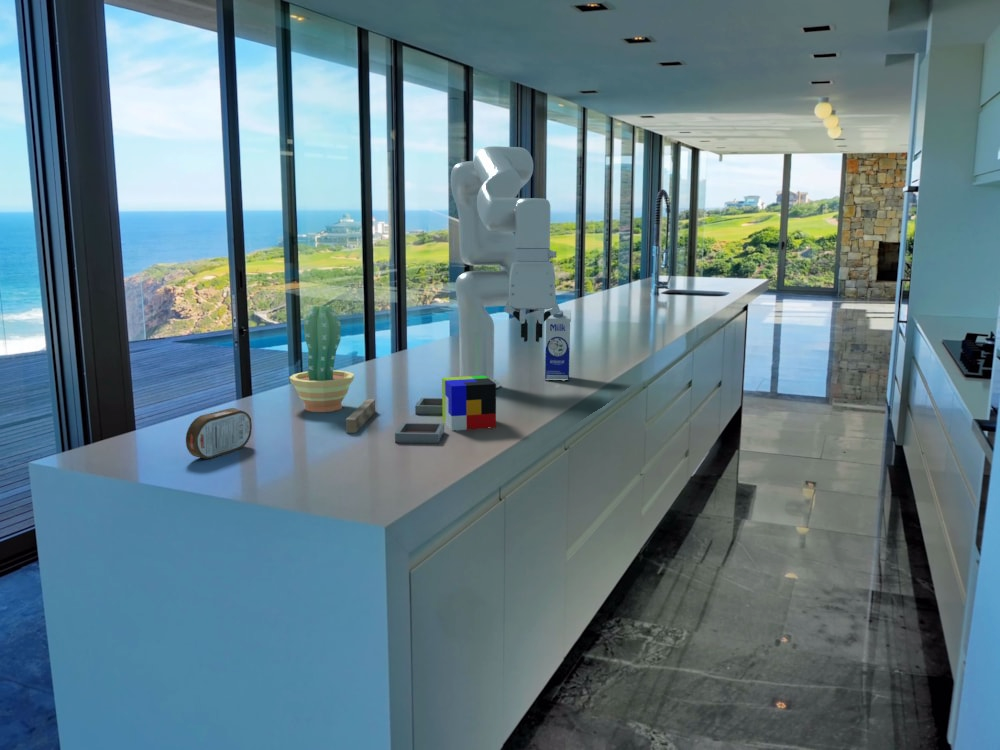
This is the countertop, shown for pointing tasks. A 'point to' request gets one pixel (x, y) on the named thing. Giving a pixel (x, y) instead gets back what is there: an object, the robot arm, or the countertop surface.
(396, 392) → the countertop surface
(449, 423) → the puzzle toy
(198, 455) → the tin
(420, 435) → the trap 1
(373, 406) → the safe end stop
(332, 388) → the potted cactus
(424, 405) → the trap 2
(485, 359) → the robot arm
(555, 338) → the milk carton
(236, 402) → the countertop surface
